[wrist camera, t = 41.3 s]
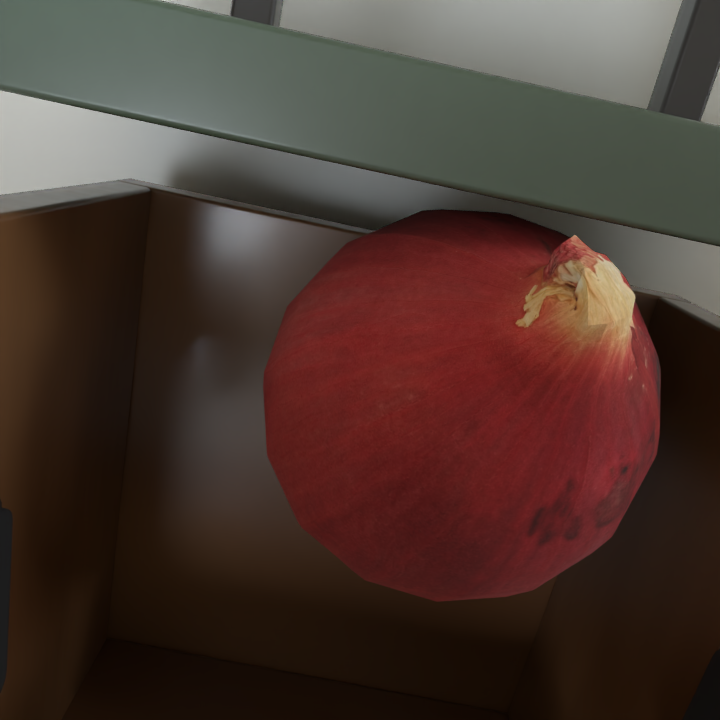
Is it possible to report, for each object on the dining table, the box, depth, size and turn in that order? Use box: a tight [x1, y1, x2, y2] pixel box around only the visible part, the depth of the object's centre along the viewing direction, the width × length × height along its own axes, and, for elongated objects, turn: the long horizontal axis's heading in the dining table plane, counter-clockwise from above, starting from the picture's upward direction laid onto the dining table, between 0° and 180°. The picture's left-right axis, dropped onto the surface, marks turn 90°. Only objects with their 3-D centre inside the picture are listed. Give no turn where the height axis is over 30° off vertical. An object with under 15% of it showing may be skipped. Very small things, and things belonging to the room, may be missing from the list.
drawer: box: [0, 0, 720, 720], centre depth 11 cm, size 20×14×7 cm
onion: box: [263, 209, 661, 602], centre depth 10 cm, size 6×6×8 cm
